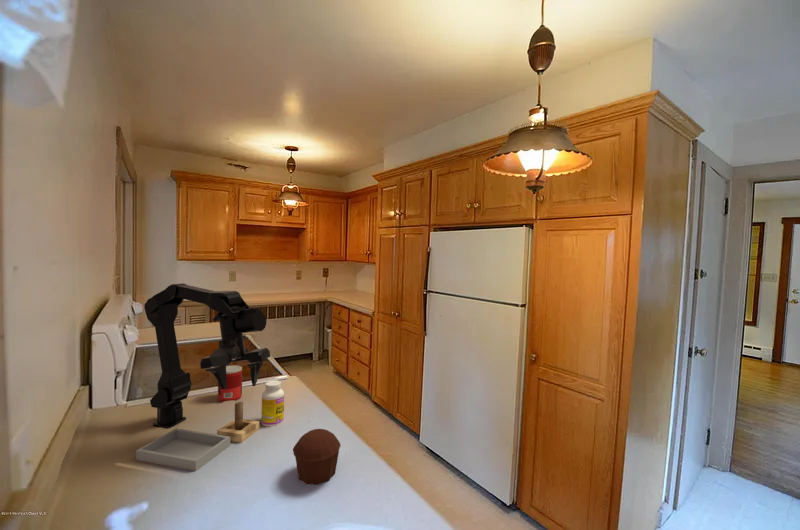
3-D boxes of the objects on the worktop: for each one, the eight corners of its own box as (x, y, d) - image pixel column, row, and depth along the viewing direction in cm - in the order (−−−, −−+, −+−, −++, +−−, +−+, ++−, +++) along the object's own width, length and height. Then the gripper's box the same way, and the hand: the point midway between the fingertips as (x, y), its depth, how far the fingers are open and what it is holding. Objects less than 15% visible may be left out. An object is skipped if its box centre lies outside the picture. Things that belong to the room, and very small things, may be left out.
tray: (136, 462, 91) (136, 450, 91) (176, 438, 102) (176, 428, 102) (196, 473, 87) (196, 461, 87) (230, 447, 98) (230, 436, 98)
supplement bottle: (276, 429, 109) (277, 387, 108) (257, 427, 110) (257, 385, 110) (287, 419, 115) (288, 380, 115) (269, 417, 117) (269, 378, 116)
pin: (232, 435, 104) (233, 404, 104) (238, 431, 106) (238, 401, 106) (239, 436, 103) (239, 405, 103) (244, 432, 105) (244, 402, 105)
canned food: (246, 397, 133) (246, 367, 132) (225, 404, 126) (226, 373, 126) (234, 392, 137) (234, 363, 136) (213, 399, 130) (213, 369, 130)
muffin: (301, 459, 94) (302, 421, 93) (343, 460, 93) (344, 422, 93) (285, 488, 82) (286, 445, 81) (334, 490, 81) (334, 447, 81)
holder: (217, 440, 102) (217, 430, 102) (236, 427, 109) (236, 418, 109) (241, 444, 100) (241, 434, 100) (259, 431, 108) (259, 421, 107)
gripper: (183, 344, 98) (190, 401, 97) (247, 335, 96) (255, 394, 95) (209, 336, 109) (216, 387, 108) (267, 328, 107) (274, 380, 106)
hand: (239, 387), depth 104 cm, fingers open, 9 cm apart
